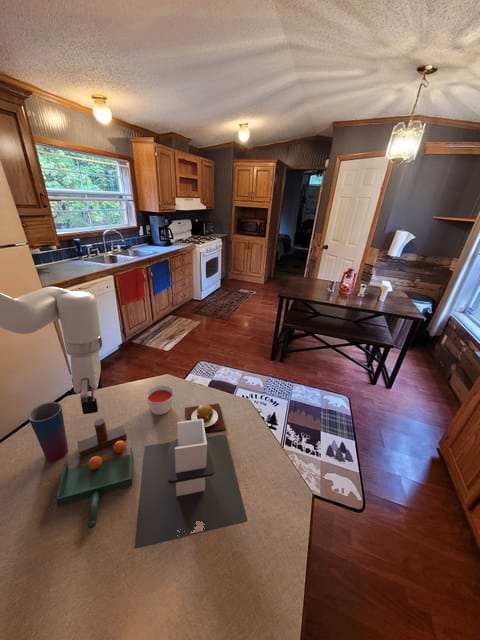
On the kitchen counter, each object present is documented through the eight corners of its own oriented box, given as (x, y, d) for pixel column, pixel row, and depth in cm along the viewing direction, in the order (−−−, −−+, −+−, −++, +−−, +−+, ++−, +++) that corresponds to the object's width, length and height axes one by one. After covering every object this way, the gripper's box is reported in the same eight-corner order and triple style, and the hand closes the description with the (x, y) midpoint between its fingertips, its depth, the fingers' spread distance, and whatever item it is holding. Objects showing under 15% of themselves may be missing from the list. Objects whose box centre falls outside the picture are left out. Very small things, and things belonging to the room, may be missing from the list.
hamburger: (218, 404, 92) (219, 392, 90) (225, 430, 82) (226, 417, 80) (185, 408, 89) (185, 396, 87) (188, 435, 79) (187, 422, 76)
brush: (79, 447, 72) (73, 425, 69) (124, 430, 78) (121, 409, 75) (80, 458, 69) (74, 436, 66) (127, 440, 76) (124, 418, 72)
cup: (37, 466, 66) (22, 423, 60) (47, 445, 72) (35, 403, 66) (67, 461, 68) (55, 419, 62) (75, 441, 74) (65, 400, 68)
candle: (142, 407, 88) (140, 393, 85) (164, 395, 94) (163, 381, 92) (157, 421, 83) (156, 406, 80) (179, 407, 89) (179, 393, 87)
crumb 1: (85, 469, 66) (86, 456, 66) (98, 464, 68) (99, 452, 69) (91, 473, 64) (92, 460, 64) (103, 469, 67) (105, 456, 67)
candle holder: (144, 446, 74) (140, 402, 68) (225, 434, 80) (229, 392, 74) (134, 548, 52) (126, 497, 46) (247, 520, 58) (254, 472, 52)
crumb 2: (113, 442, 70) (108, 451, 70) (123, 447, 70) (118, 457, 70) (120, 436, 73) (115, 445, 73) (129, 441, 73) (125, 451, 73)
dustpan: (67, 470, 66) (65, 463, 65) (132, 454, 71) (131, 447, 70) (48, 546, 51) (45, 538, 50) (132, 518, 57) (131, 511, 56)
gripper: (73, 329, 67) (82, 382, 73) (56, 365, 52) (70, 427, 59) (105, 327, 69) (111, 378, 76) (97, 361, 55) (106, 420, 62)
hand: (93, 399), depth 67 cm, fingers open, 9 cm apart
